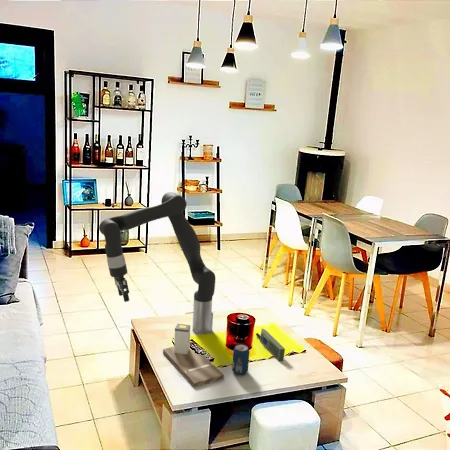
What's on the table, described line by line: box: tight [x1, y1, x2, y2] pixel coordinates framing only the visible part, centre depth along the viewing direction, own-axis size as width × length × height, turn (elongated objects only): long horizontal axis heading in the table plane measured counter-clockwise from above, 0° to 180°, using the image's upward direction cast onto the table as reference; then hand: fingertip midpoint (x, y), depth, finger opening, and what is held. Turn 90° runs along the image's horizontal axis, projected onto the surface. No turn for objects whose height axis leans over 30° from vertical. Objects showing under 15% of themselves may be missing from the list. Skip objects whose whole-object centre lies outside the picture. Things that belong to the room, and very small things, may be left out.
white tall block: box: [173, 323, 191, 354], centre depth 213 cm, size 5×6×12 cm
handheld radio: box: [255, 328, 286, 362], centre depth 224 cm, size 7×3×25 cm
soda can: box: [231, 343, 250, 377], centre depth 202 cm, size 7×7×12 cm
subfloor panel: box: [162, 346, 225, 388], centre depth 206 cm, size 14×30×2 cm, turn 32°
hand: (124, 298), depth 209 cm, fingers open, 8 cm apart
